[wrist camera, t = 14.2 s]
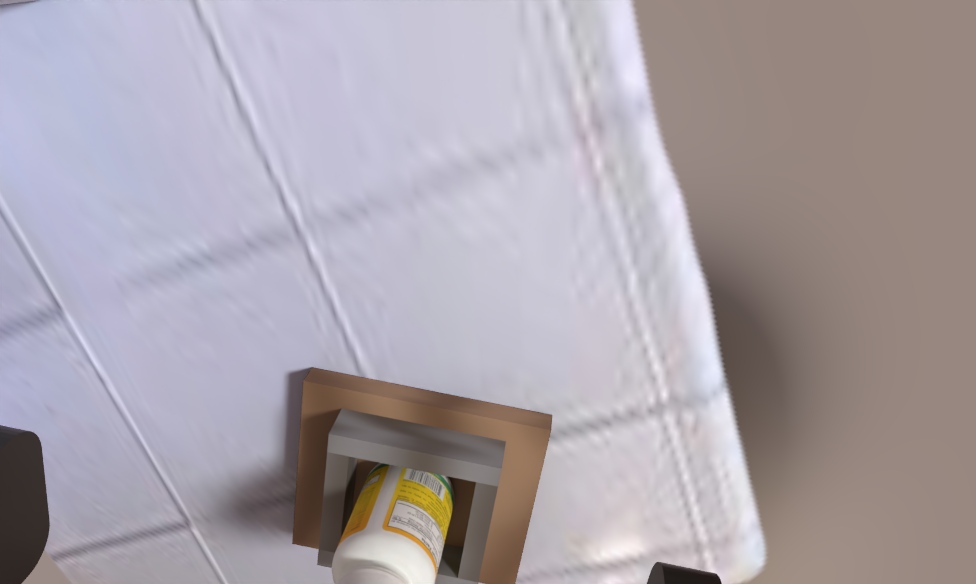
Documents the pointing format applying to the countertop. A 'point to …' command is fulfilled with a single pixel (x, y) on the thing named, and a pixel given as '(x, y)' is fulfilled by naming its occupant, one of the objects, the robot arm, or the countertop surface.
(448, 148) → the countertop surface
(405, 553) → the supplement bottle
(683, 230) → the countertop surface
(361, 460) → the socket stand
